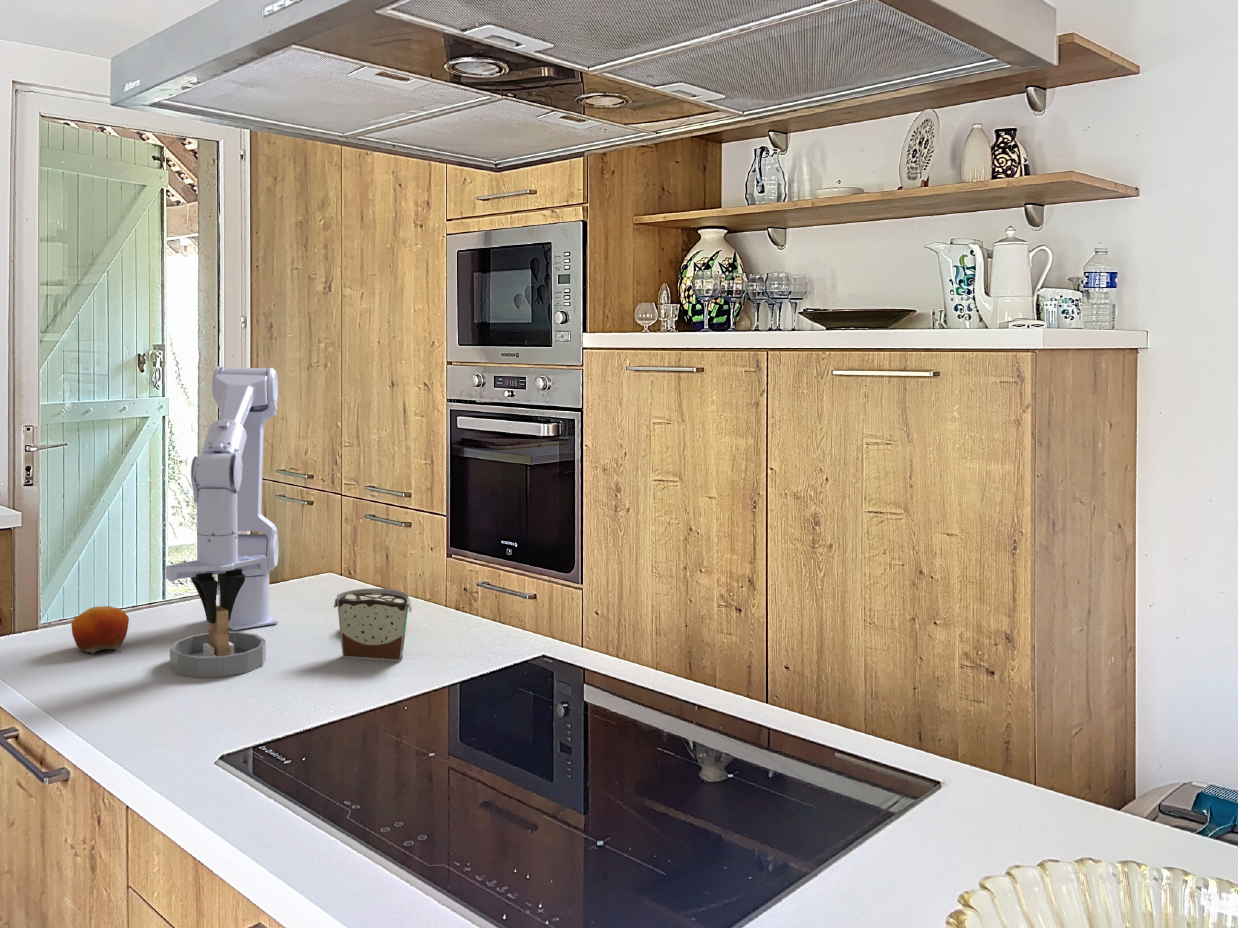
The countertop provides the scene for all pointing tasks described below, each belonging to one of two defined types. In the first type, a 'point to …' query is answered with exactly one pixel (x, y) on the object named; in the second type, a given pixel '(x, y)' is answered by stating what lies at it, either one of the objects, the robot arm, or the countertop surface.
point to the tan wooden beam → (220, 632)
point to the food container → (373, 623)
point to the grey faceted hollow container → (201, 662)
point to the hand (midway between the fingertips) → (218, 620)
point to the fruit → (100, 629)
